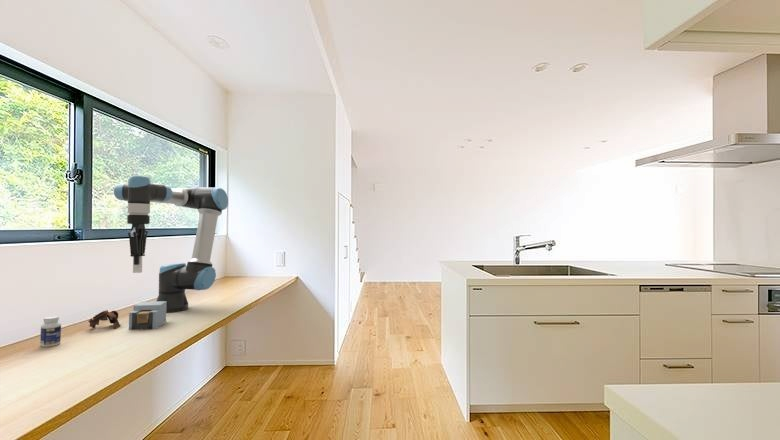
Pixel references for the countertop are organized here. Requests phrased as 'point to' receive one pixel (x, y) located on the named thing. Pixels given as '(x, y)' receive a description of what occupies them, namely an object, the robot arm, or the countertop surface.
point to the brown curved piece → (105, 318)
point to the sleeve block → (155, 315)
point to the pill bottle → (50, 332)
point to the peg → (143, 316)
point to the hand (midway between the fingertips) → (137, 272)
